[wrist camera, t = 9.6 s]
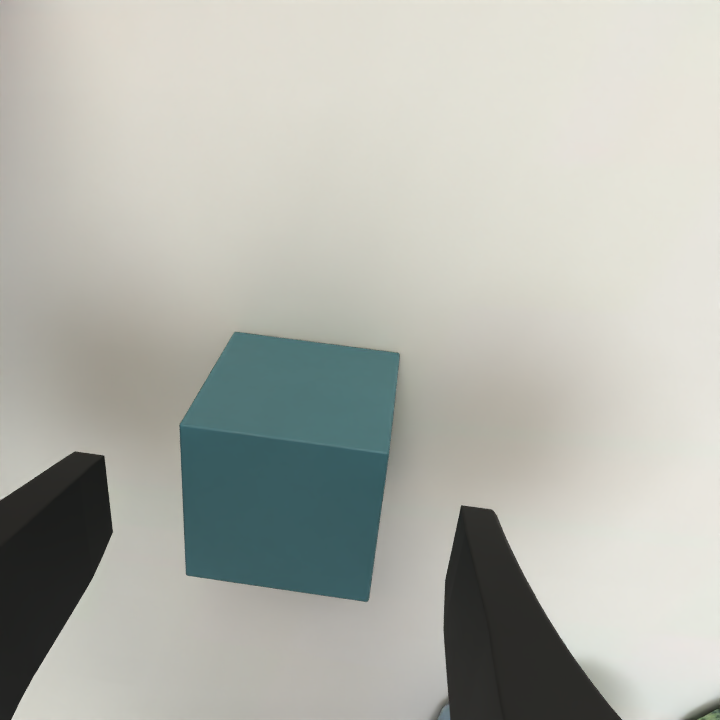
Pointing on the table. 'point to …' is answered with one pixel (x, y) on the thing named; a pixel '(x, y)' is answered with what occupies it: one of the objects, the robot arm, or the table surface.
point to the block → (288, 465)
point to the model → (712, 715)
